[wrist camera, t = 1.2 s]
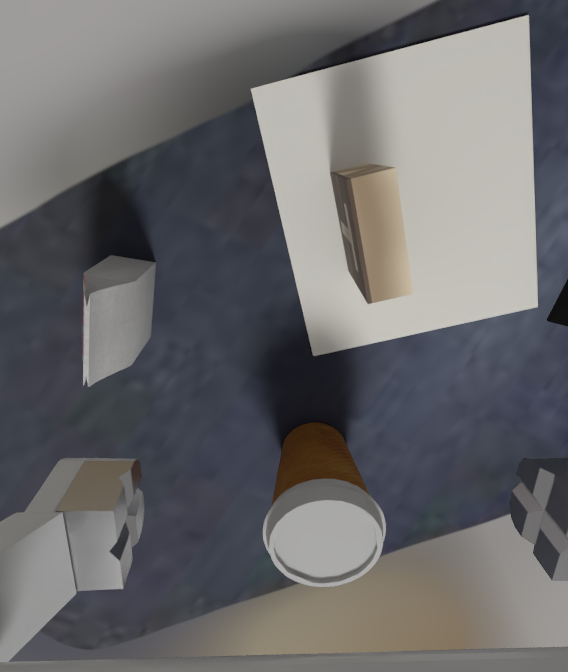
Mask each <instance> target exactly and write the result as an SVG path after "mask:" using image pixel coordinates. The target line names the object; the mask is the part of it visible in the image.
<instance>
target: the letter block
mask: <svg viewBox="0 0 568 672" xmlns="http://www.w3.org/2000/svg"><path fill="white" fill-rule="evenodd" d="M330 176H331V181H332V186H333V192H334V197H335V202H336V208H337V213H338V218H339V224H340V229H341V234H342V240H343V245H344V250H345V256H346V261H347V266H348V271H349V273H350V275H351V276H352V278H353V280H354V281H355V283H356V285H357V287H358V288H359V290H360V292H361V293H362V295H363V297H364V298H365V300H366V302H367V304H371V303H376V302H380V301H384V300H389V299H393V298H398V297H402V296H407V295H411V294H413V290H412V282H411V275H410V268H409V261H408V253H407V246H406V239H405V231H404V224H403V217H402V209H401V202H400V195H399V187H398V180H397V173H396V168H395V167H389V166H382V165H376V164H370V163H367V164H363V165H359V166H355V167H351V168H347V169H343V170H339V171H335V172H331V173H330Z"/></svg>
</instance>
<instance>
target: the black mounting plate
mask: <svg viewBox="0 0 568 672" xmlns="http://www.w3.org/2000/svg"><path fill="white" fill-rule="evenodd" d="M547 321H549V322H553V323H557V324H561V325H565V326H568V280H567V282H566V284H565V285H564V287H563V289H562V291H561V293H560V295H559V297H558V299H557V301H556V303H555V305H554V307H553V309H552V310H551V312H550V314H549V316H548V318H547Z"/></svg>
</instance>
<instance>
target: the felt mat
mask: <svg viewBox="0 0 568 672" xmlns="http://www.w3.org/2000/svg"><path fill="white" fill-rule="evenodd" d="M251 92H252V96H253V101H254V105H255V109H256V113H257V118H258V122H259V126H260V131H261V135H262V139H263V143H264V148H265V152H266V156H267V161H268V165H269V169H270V173H271V178H272V182H273V186H274V191H275V195H276V199H277V204H278V208H279V212H280V216H281V221H282V225H283V229H284V234H285V238H286V242H287V246H288V251H289V255H290V259H291V264H292V268H293V272H294V276H295V281H296V285H297V289H298V294H299V298H300V302H301V306H302V311H303V315H304V319H305V324H306V328H307V332H308V336H309V341H310V345H311V349H312V354H313V356H317V355H322V354H326V353H331V352H335V351H340V350H344V349H349V348H354V347H358V346H363V345H367V344H372V343H376V342H381V341H385V340H390V339H394V338H399V337H404V336H408V335H413V334H417V333H422V332H426V331H431V330H435V329H440V328H444V327H449V326H454V325H458V324H463V323H467V322H472V321H476V320H481V319H485V318H490V317H494V316H499V315H504V314H508V313H513V312H517V311H522V310H526V309H531V308H535V307H538V292H537V261H536V229H535V197H534V166H533V134H532V102H531V70H530V39H529V15H526V16H523V17H519V18H515V19H511V20H507V21H504V22H500V23H496V24H492V25H489V26H485V27H481V28H477V29H474V30H470V31H466V32H462V33H458V34H455V35H451V36H447V37H443V38H440V39H436V40H432V41H428V42H425V43H421V44H417V45H413V46H409V47H406V48H402V49H398V50H394V51H391V52H387V53H383V54H379V55H376V56H372V57H368V58H364V59H361V60H357V61H353V62H349V63H345V64H342V65H338V66H334V67H330V68H327V69H323V70H319V71H315V72H312V73H308V74H304V75H300V76H296V77H293V78H289V79H285V80H281V81H278V82H274V83H270V84H266V85H263V86H259V87H255V88H251ZM367 163H370V164H376V165H382V166H389V167H395V168H396V173H397V180H398V187H399V195H400V202H401V209H402V217H403V224H404V231H405V239H406V246H407V253H408V261H409V268H410V275H411V282H412V290H413V294H411V295H407V296H402V297H398V298H393V299H389V300H384V301H380V302H376V303H371V304H367V302H366V300H365V298H364V297H363V295H362V293H361V292H360V290H359V288H358V287H357V285H356V283H355V281H354V280H353V278H352V276H351V275H350V273H349V271H348V266H347V261H346V256H345V250H344V245H343V240H342V234H341V229H340V224H339V218H338V213H337V208H336V202H335V197H334V192H333V186H332V181H331V176H330V173H331V172H335V171H339V170H343V169H347V168H351V167H355V166H359V165H363V164H367Z"/></svg>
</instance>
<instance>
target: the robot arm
mask: <svg viewBox="0 0 568 672" xmlns="http://www.w3.org/2000/svg"><path fill="white" fill-rule="evenodd" d="M141 476H142V475H141V468H140V462H139V461H138V459H114V458H89V459H87V458H64V459H61V460H59V461H58V463H57V464H56V466H55V467H54V469H53V470H52V472H51V473H50V475H49V476H48V478H47V479H46V480H45V482H44V483H43V485H42V486H41V488H40V489H39V491H38V492H37V494H36V495H35V497H34V498H33V500H32V501H31V503H30V504H29V506H28V507H27V509H26V510H25V512H24V513H15V514H13V515H11V516H10V517H8V518H6V519H4V520H3V521H1V522H0V672H568V647H537V648H499V649H461V650H425V651H391V652H390V651H389V652H355V653H318V654H287V655H286V654H283V655H247V656H212V657H174V658H138V659H102V660H66V661H29V662H8V661H9V660H10V659H11V658H12V657H13V656H14V655H15V654H16V653H17V652H18V651H19V650H20V649H21V648H22V647H23V646H24V645H25V644H26V643H27V642H28V641H29V640H30V639H31V638H32V637H33V636H34V635H35V634H36V633H37V632H38V631H39V630H40V629H41V628H42V627H43V626H44V625H45V624H46V623H47V622H48V621H49V620H50V619H51V618H52V617H53V616H54V615H55V614H56V613H57V612H58V611H59V610H60V609H61V608H62V607H63V606H64V605H65V604H66V603H67V602H68V601H69V600H70V599H72V598H73V597H74V596H75V595H76V591H84V590H105V589H123V587H124V584H125V581H126V578H127V575H128V572H129V569H130V566H131V563H132V550H131V547H132V546H134V545H135V544H136V543H137V542H138V541H139V537H140V534H141V531H142V524H143V518H144V497H143V493H142V492H141V491H140V490H139V489H138V488H137V487H138V485H139V482H140V479H141ZM517 476H518V478H519V479H520V481H521V483H520V484H519V485H518V486H517V487H516V488H515V489H514V490H513V491H512V494H511V499H510V512H511V518H512V521H513V523H514V526H515V528H516V529H517V531H518V532H519V534H520V535H521V536H522V537H523V538H525V539H526V540H528V541H529V542H531V543H532V544H534V551H533V554H534V555H535V557H536V558H537V560H538V561H539V563H540V564H541V565H542V567H543V568H544V570H545V571H546V573H547V574H548V575H549V577H550V578H551V580H556V581H558V580H559V581H568V457H564V458H523V460H522V461H521V462H520V464H519V466H518V470H517Z"/></svg>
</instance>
